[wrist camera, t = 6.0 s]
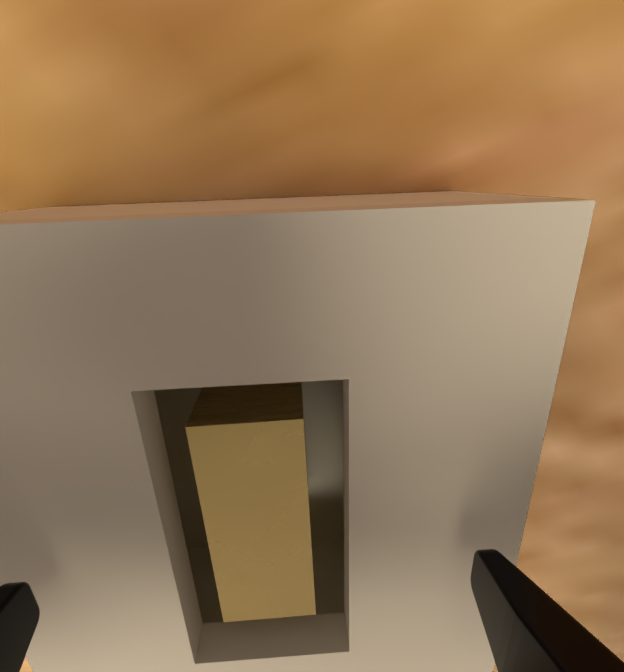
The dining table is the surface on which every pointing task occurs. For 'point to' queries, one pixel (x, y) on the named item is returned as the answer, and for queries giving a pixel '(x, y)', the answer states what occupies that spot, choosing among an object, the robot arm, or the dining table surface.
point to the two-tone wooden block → (255, 498)
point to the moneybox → (318, 403)
